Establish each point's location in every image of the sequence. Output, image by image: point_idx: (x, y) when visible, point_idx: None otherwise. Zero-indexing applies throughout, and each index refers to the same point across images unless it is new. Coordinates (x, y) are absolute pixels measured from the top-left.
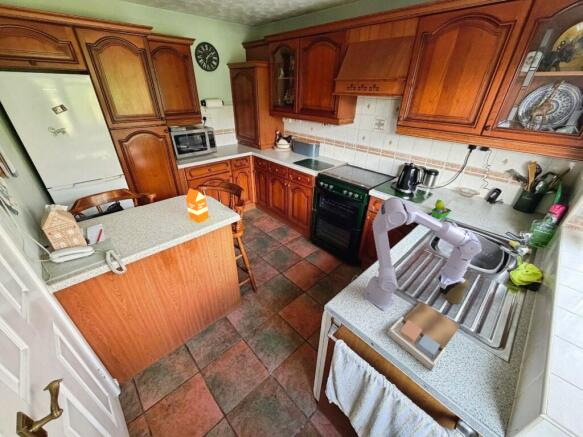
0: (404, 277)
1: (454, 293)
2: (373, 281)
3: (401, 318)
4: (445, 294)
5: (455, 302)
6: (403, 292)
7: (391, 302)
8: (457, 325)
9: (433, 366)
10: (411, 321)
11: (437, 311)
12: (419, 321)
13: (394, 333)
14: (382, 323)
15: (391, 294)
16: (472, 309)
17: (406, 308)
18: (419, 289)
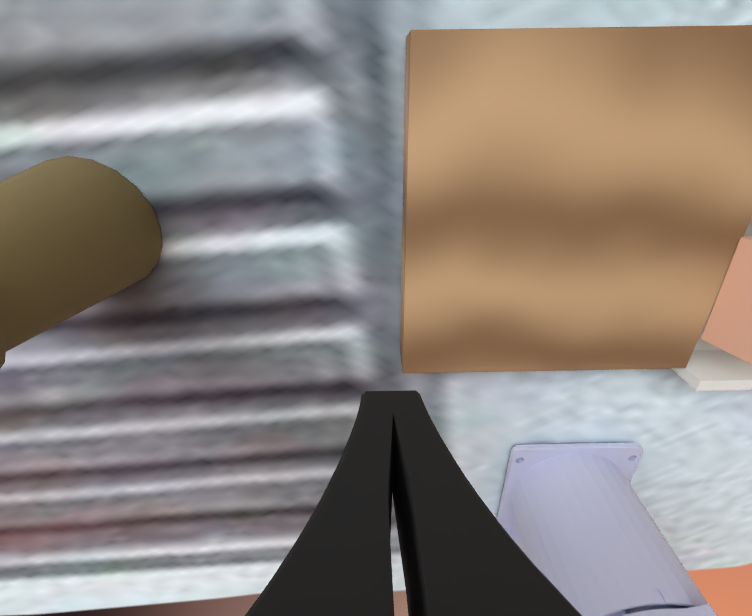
0: (256, 496)
1: (80, 267)
2: None
3: (718, 385)
4: (422, 401)
5: (122, 194)
6: None
7: (546, 452)
8: (426, 51)
9: None
10: (667, 327)
11: (406, 253)
12: (627, 293)
13: None
14: (736, 402)
15: (645, 553)
16: (10, 39)
17: (510, 380)
18: (264, 408)
